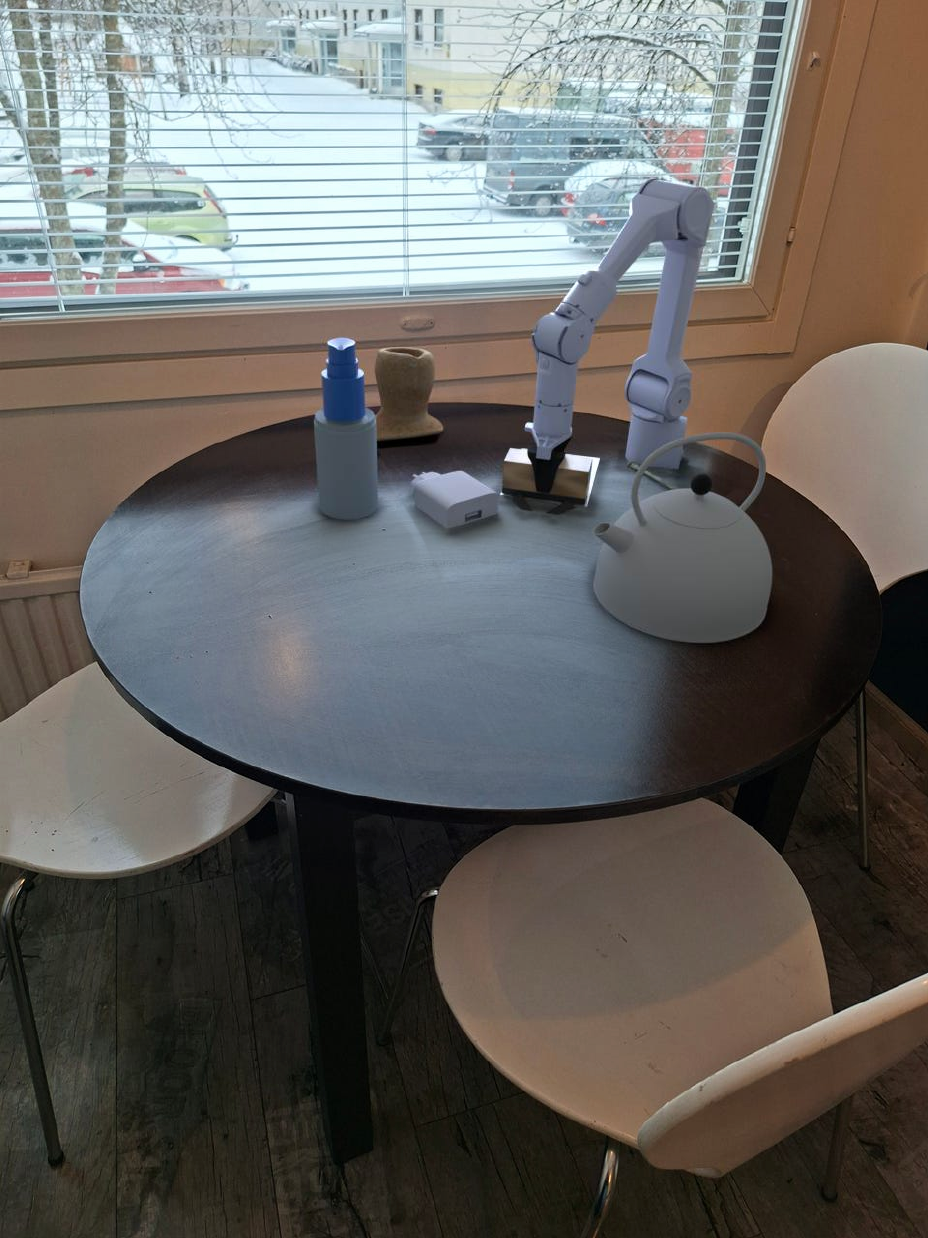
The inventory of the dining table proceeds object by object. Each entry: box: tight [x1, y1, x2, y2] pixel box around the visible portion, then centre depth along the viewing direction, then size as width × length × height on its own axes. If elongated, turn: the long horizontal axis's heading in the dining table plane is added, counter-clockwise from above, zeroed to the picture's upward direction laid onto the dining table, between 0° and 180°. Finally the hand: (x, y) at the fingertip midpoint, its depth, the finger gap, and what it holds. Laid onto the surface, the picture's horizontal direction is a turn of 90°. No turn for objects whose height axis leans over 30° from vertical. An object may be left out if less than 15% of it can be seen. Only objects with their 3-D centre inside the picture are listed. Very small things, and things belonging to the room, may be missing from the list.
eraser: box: [501, 447, 593, 505], centre depth 135 cm, size 13×5×6 cm, turn 77°
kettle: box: [592, 431, 773, 644], centre depth 110 cm, size 25×23×22 cm
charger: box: [409, 470, 500, 530], centre depth 133 cm, size 5×9×15 cm
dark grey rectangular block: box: [511, 494, 534, 512], centre depth 134 cm, size 4×2×1 cm, turn 23°
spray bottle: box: [313, 337, 379, 520], centre depth 126 cm, size 9×9×25 cm
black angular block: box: [545, 500, 575, 516], centre depth 133 cm, size 4×2×1 cm, turn 128°
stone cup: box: [374, 346, 444, 442], centre depth 153 cm, size 15×12×15 cm
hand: (546, 483), depth 136 cm, fingers closed on eraser, 5 cm apart
